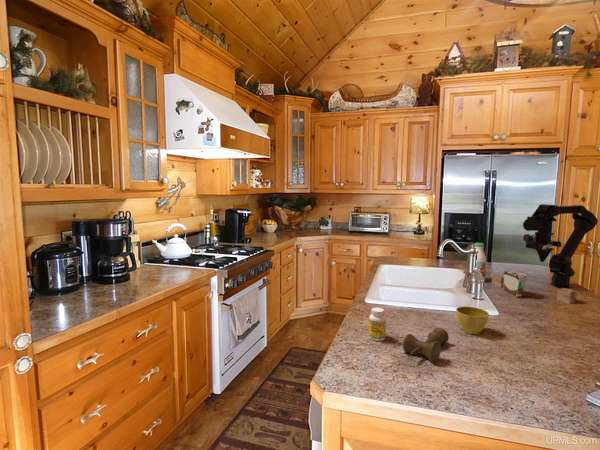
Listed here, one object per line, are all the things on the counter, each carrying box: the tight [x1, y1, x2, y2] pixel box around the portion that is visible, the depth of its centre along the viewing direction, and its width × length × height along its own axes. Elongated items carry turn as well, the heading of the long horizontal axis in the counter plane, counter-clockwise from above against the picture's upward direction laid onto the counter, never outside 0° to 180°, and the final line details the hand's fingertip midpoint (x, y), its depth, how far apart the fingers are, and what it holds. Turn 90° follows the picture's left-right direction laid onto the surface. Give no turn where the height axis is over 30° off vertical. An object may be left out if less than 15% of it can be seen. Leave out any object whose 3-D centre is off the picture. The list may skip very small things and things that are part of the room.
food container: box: [502, 270, 528, 299], centre depth 161 cm, size 12×6×10 cm, turn 2°
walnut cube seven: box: [556, 288, 578, 305], centre depth 152 cm, size 5×5×5 cm
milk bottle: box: [473, 242, 487, 282], centre depth 184 cm, size 8×8×20 cm
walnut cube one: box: [491, 273, 504, 288], centre depth 176 cm, size 5×5×5 cm
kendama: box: [402, 327, 450, 364], centre depth 105 cm, size 6×10×20 cm
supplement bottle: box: [368, 307, 387, 342], centre depth 114 cm, size 5×5×10 cm
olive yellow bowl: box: [455, 306, 490, 335], centre depth 120 cm, size 10×10×7 cm
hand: (542, 261), depth 171 cm, fingers closed
